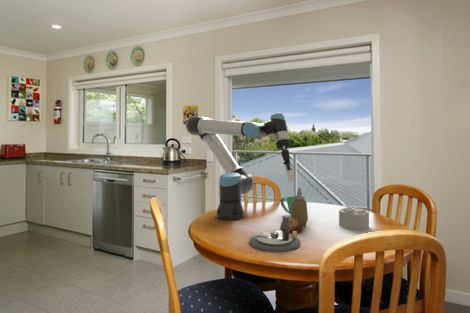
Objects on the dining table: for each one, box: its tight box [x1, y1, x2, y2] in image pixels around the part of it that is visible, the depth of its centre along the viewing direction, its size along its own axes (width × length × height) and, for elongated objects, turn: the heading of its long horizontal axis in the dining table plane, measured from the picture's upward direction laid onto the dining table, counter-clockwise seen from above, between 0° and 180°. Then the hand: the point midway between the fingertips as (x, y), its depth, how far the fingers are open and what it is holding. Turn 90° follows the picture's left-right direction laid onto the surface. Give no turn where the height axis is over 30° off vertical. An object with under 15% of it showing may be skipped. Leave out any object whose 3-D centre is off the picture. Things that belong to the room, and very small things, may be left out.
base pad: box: [249, 231, 301, 253], centre depth 122 cm, size 20×20×4 cm
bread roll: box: [279, 216, 304, 235], centre depth 138 cm, size 10×10×8 cm
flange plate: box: [256, 215, 293, 246], centre depth 122 cm, size 14×16×10 cm
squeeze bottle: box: [290, 187, 309, 227], centre depth 147 cm, size 8×8×18 cm
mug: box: [280, 196, 306, 216], centre depth 167 cm, size 15×10×10 cm
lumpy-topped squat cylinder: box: [338, 206, 370, 231], centre depth 145 cm, size 10×13×9 cm
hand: (291, 179), depth 156 cm, fingers open, 13 cm apart
